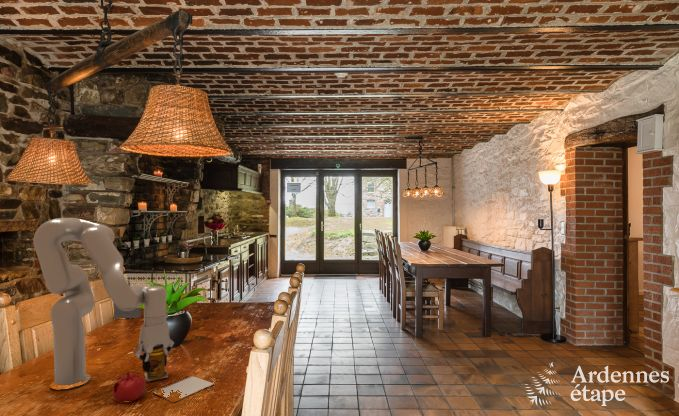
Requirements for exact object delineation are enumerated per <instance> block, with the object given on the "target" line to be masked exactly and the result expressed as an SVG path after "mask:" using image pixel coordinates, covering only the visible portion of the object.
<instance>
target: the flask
mask: <svg viewBox="0 0 679 416" xmlns="http://www.w3.org/2000/svg"><path fill="white" fill-rule="evenodd" d="M127 283H128V285H129V286H130V287H131V283H129V282H127ZM138 317H141V318H142V307H141V308H137V307H136V308H135V309H133V310H130V311H123V310H121V309H119V308H118V307H117V306H116V305H115V304H114V303H113V320H118V319H117V318H138ZM138 319H139V318H138Z"/></svg>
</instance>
